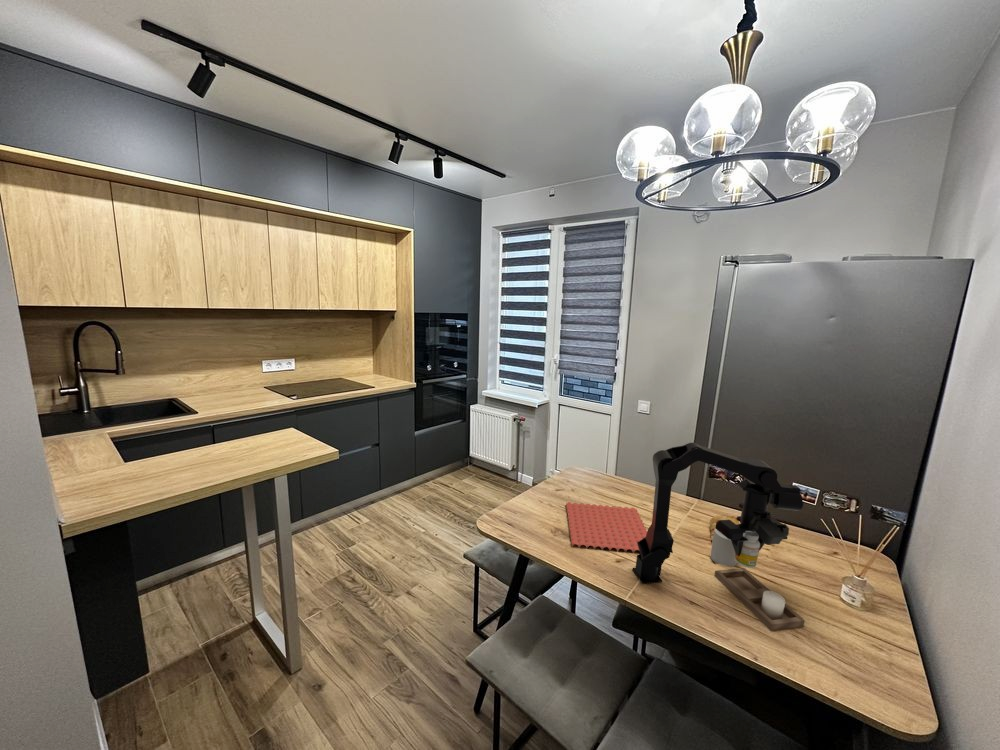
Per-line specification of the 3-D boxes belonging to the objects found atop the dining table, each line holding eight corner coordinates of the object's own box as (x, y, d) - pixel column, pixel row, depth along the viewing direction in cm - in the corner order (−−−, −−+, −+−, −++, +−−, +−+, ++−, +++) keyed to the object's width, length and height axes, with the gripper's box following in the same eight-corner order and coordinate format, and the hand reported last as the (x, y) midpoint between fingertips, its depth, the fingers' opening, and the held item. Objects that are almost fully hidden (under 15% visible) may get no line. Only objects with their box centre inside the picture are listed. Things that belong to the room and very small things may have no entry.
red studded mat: (635, 512, 154) (636, 507, 154) (656, 557, 127) (657, 551, 127) (565, 506, 157) (566, 501, 157) (571, 549, 130) (571, 543, 129)
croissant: (720, 557, 133) (735, 544, 129) (695, 533, 138) (709, 520, 134) (740, 533, 147) (754, 521, 143) (716, 512, 152) (729, 500, 148)
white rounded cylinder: (771, 621, 100) (774, 605, 99) (756, 607, 105) (758, 591, 104) (786, 619, 101) (790, 603, 100) (771, 605, 105) (774, 589, 104)
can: (723, 571, 120) (728, 537, 118) (704, 556, 128) (709, 523, 125) (741, 567, 122) (747, 534, 120) (722, 553, 130) (727, 520, 127)
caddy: (769, 634, 97) (771, 624, 97) (713, 579, 117) (715, 570, 116) (802, 630, 99) (805, 620, 98) (742, 576, 118) (743, 567, 118)
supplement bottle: (735, 553, 115) (741, 524, 113) (757, 562, 112) (762, 531, 110) (732, 562, 111) (738, 532, 109) (754, 571, 107) (760, 540, 106)
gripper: (749, 523, 98) (739, 576, 101) (810, 518, 102) (799, 570, 105) (718, 501, 109) (710, 549, 112) (774, 498, 112) (764, 545, 115)
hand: (746, 554), depth 111 cm, fingers closed on supplement bottle, 5 cm apart
